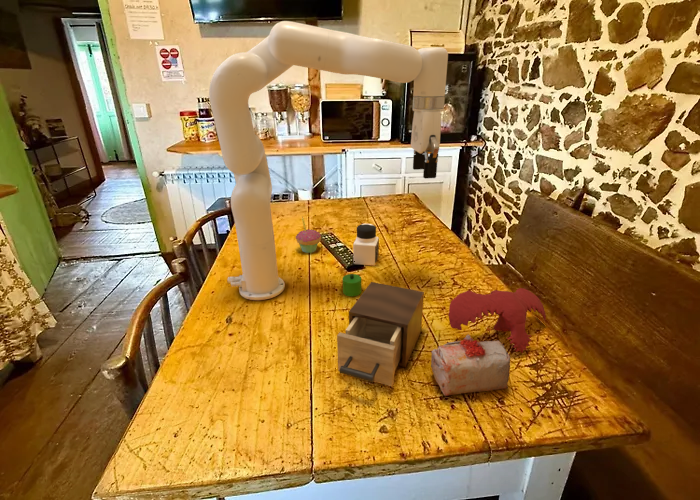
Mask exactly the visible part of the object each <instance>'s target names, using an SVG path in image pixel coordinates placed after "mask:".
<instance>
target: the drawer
mask: <svg viewBox="0 0 700 500" xmlns="http://www.w3.org/2000/svg"><path fill="white" fill-rule="evenodd" d="M403 332H404V327H400V326H396V325H391V324H387V323H383V322H378V321H374V320H370V319H365V318H361V317H356V316H355V318H354V319H353V320H352V322H351V323H350V325H349V324H348V326H347V327H346V329H345V333H344V332H338V334H337V335H336V341H337V342H336V347H337V371H338V373H339V374H342V375H345V376H347V377H348V376H349V377H352V378H355V379H360V380H362V381H366V382H368V383H369V382H370V383H374V382H375V383H379V384H382V385H385V386H389V387H393V385H394V384H395V372H396V370H397V368H398V366H399V365H398V363H399V361H400V359H401V357H402V352H403Z"/></svg>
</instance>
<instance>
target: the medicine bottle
mask: <svg viewBox="0 0 700 500" xmlns="http://www.w3.org/2000/svg"><path fill="white" fill-rule="evenodd" d="M352 246H353V247H352V250H353V251H352V253H353V254H352V255H353V264H354V265H362V266H373V267H374V266H376V265H377V262H378V258H379V251H380V238H379V236H377V227H376V226H375V225H374V224H372V223H361V224H359V225H357V227H356V237H355V240H354V242H353V244H352ZM354 261H355V262H354Z"/></svg>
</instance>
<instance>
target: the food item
mask: <svg viewBox="0 0 700 500" xmlns="http://www.w3.org/2000/svg"><path fill="white" fill-rule="evenodd" d="M430 362H431V363H430V367H431V372H432V374H433V377H434V380H435V382H436V383H437V385H438V387H439V389H440V390H441V393H442V394H443V395H444V397H448V396H454V395H462V394H469V393H477V392H489V391H496V390H506V389H508V388H509V386H508V383H509V379H510V369H511V355H510V353H508V352H507V349H506V347H505V345H504V344H503V343H502V342H501V341H500V340H499V339H498V340H497V339H496V340H485V341H479V340H477V339H475V340H474V339H473V337H471V335H470V334H467V335H466V336H465V337H464V338H463V339H460V340H458V341H449V342H447V343H445V344H443V345H438V347H437V348H434V349H433V350H431V361H430Z"/></svg>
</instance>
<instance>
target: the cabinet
mask: <svg viewBox="0 0 700 500" xmlns="http://www.w3.org/2000/svg"><path fill="white" fill-rule="evenodd" d="M424 298H425V291H421V290H415V289H412V288H411V289H410V288H405V287H401V286H394V285H390V284H385V283H378V282H374V281H371V282H370V283H369V284H368V286H367V287H365V290H364V291H363V292H362V293H361V294H360V296H359V298H358V299H357V300H356V301H355V303H354V304H353V305H352V306H351V308H350V309H349V310H348V326H349V325H350V323H351V322H352V320H353V319H354V318H355V316H356V317H361V318H365V319H370V320H374V321H378V322H383V323H387V324H391V325H396V326H400V327H404V332H403V352H402V357H401V359H400V361H399V363H398V365H397V366H399V367H403V368H406V367H407V364H408V362H409V360H410V357H411V356H412V353H413V351H414V348H415V347H416V344H417V341H418V339H419V337H420V334H421V332H422V325H423V324H422V323H423V313H424V311H423V310H424Z"/></svg>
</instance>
